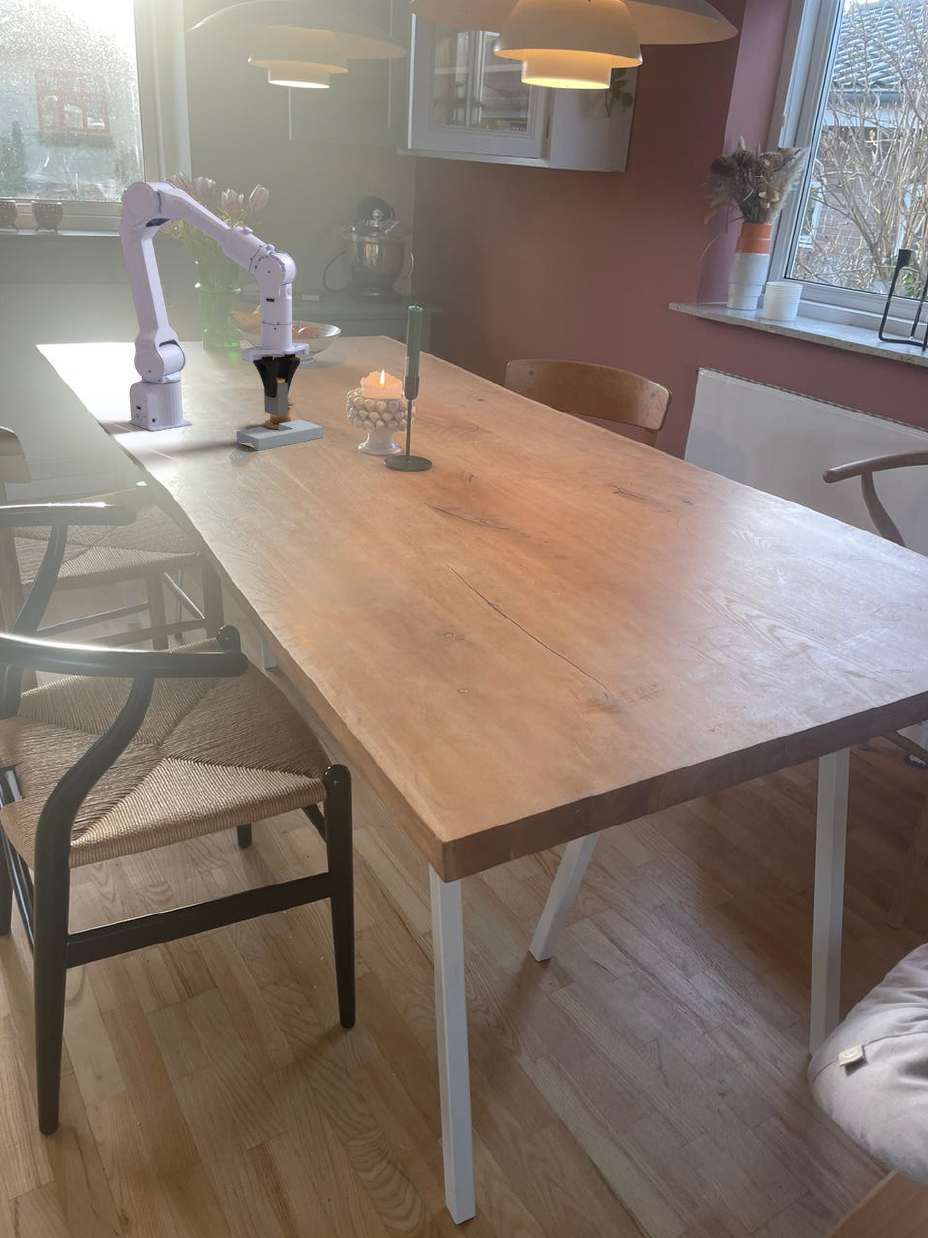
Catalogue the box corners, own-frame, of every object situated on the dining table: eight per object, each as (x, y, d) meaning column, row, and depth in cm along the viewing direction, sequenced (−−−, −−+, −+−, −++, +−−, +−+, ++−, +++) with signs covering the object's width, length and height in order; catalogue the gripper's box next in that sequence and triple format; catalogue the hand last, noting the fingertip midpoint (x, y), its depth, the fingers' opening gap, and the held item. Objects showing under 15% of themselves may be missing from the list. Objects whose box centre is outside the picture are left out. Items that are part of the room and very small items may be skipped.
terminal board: (258, 450, 176) (258, 439, 175) (236, 442, 180) (236, 431, 179) (322, 437, 188) (322, 426, 187) (300, 430, 191) (300, 419, 190)
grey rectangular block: (278, 415, 180) (277, 380, 178) (264, 411, 183) (263, 377, 180) (288, 414, 182) (287, 379, 179) (274, 410, 184) (273, 376, 182)
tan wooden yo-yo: (278, 431, 189) (278, 405, 187) (258, 424, 193) (257, 398, 191) (303, 426, 194) (303, 401, 192) (282, 419, 197) (282, 395, 195)
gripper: (259, 328, 168) (260, 404, 173) (320, 323, 178) (319, 395, 184) (234, 322, 171) (236, 397, 177) (295, 317, 182) (295, 388, 188)
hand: (276, 395), depth 181 cm, fingers closed on grey rectangular block, 2 cm apart
